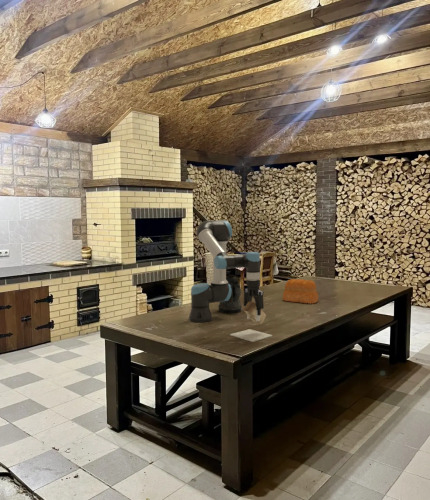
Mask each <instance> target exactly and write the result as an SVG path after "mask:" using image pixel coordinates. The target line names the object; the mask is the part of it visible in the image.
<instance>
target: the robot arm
mask: <svg viewBox="0 0 430 500" xmlns="http://www.w3.org/2000/svg"><path fill="white" fill-rule="evenodd" d="M232 228H233V227H232V225H231V224H230V222H229V221H227V220H222V219H221V220H220V219H219V220H203V221H202V222H201V223H200V224H199V225H198V226H197V227H196V232H195V233H196V238H197V239H198V240H199V242H201V243H203V244H204V246H205V247H206V249H207V250H208V251H209V253H210V254H211V256H212V280H210V284H209V283H207V282H204V283H196V284H194V285H192V286H191V288H190V290H191V291H190V296H191V297H190V299H191V301H190V303H191V309H190V312H189V315H188V321H190V322H193V323H207V322H208V323H209V322H211V321H213V315H212V312H211V308H210V304H212V303H220V302H224V301H228V300H229V299H230V297H231V286H230V284H228V281H227V280H226V278H227V270H228V269H238V268H239V269H241V268H242V269H243V268H245V269H246V287H247V288H244V289H243V307H245V306H246V305H247V303H248V302H253V301H252V300H253V299H254V303H256V308H257V309H256V321H260V315H261V309H262V310H263V309H264V308H265V305H264V290H263V291H261V290H260V286H261V281H260V279H261V274H260V273H261V271H260V270H261V258H260V257H261V256H260V255H261V254H260V252H258V251H248V252H246V254H245V253H240V254H228V253H227V244H228V243H229V239H231V237H232V235H233V229H232ZM246 317H247V318H246V319H247V320H252V319H251V318H250V317H249V316H248V315H247V314H246Z"/></svg>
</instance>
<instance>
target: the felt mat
mask: <svg viewBox="0 0 430 500" xmlns="http://www.w3.org/2000/svg"><path fill="white" fill-rule="evenodd" d="M229 336H231V337H235V338H238V339H242V340H245V341H248V342H250V343H254V342H257V341H260V340H263V339H269V338H271V337H273V335H272V334H268V333H266V332H262V331H258V330H254V329H251V328H250V329H249V328H248V329H245V330H241V331H237V332H234V333H230V334H229Z"/></svg>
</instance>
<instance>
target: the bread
mask: <svg viewBox="0 0 430 500" xmlns="http://www.w3.org/2000/svg"><path fill="white" fill-rule="evenodd" d="M282 300H283V301H285V302H292V303H301V304H307V303H308V304H309V305H311V304H312V305H313V304H316V303H318V302H319V293H318V291H317V285H316V283H315V281H314V280H310V279H309V280H308V279H302V278H300V279H295V278H292V279H288V281H286V282H285V285H284V290H283V294H282Z"/></svg>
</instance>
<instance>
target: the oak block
mask: <svg viewBox="0 0 430 500" xmlns="http://www.w3.org/2000/svg"><path fill="white" fill-rule="evenodd" d="M256 309H257V308H256V303H255V301H254V302H253V301H251V302H248V303H247V305H246V306H244V307H243V312H245V314H246V316H247V315H248V316H249V317H250V318H251V319H250V320H251V321H252V322H253V323H256V324H260V325H261V324H262V323H264V320H265V318H266V317H267V314H266V313H265V312H264V311H263V309H261V315H260V321H256Z"/></svg>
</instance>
